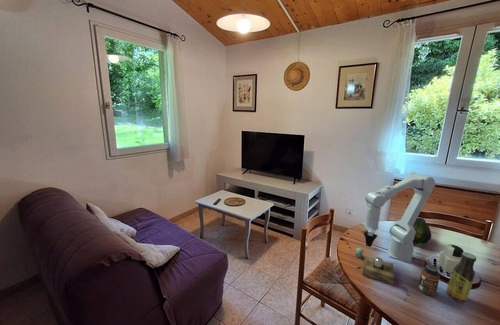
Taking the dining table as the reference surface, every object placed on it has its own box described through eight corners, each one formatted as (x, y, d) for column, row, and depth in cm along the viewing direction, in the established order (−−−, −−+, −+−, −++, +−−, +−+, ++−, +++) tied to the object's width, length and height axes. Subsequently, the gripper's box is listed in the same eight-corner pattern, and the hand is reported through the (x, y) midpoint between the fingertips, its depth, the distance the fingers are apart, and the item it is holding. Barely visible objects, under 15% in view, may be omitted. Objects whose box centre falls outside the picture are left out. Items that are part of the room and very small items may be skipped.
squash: (392, 231, 129) (417, 218, 120) (397, 222, 140) (419, 210, 132) (412, 253, 124) (439, 241, 116) (414, 242, 135) (439, 231, 127)
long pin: (380, 271, 104) (382, 258, 102) (380, 275, 102) (382, 262, 100) (373, 269, 106) (375, 256, 104) (373, 273, 103) (375, 260, 102)
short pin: (362, 255, 116) (363, 248, 115) (361, 258, 113) (362, 251, 112) (356, 253, 117) (356, 246, 116) (355, 256, 115) (356, 250, 114)
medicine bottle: (455, 266, 108) (460, 244, 105) (463, 276, 102) (469, 253, 99) (437, 262, 110) (442, 241, 108) (444, 272, 104) (449, 249, 101)
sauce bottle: (441, 291, 93) (452, 249, 88) (455, 290, 93) (466, 248, 89) (457, 304, 87) (469, 260, 82) (472, 303, 87) (484, 259, 83)
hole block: (392, 270, 105) (393, 264, 104) (393, 284, 96) (394, 277, 96) (363, 262, 111) (364, 256, 110) (362, 274, 102) (363, 268, 101)
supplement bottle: (420, 294, 91) (425, 270, 89) (415, 283, 97) (420, 261, 94) (438, 298, 89) (444, 274, 87) (432, 287, 95) (437, 264, 92)
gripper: (364, 209, 115) (361, 233, 118) (362, 221, 103) (358, 247, 106) (379, 212, 112) (376, 236, 115) (379, 225, 100) (375, 251, 103)
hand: (368, 242), depth 110 cm, fingers open, 7 cm apart
